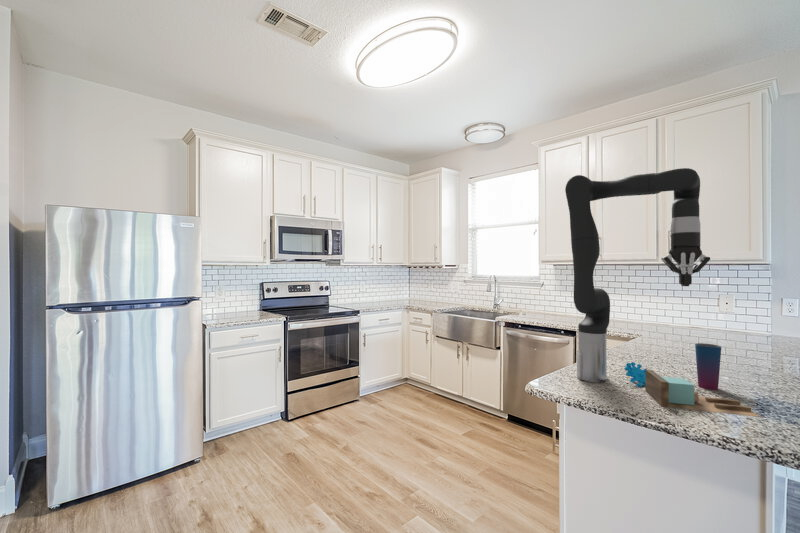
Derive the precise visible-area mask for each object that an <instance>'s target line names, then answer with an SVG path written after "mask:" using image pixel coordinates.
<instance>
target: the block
mask: <svg viewBox="0 0 800 533" xmlns="http://www.w3.org/2000/svg"><path fill="white" fill-rule="evenodd" d="M661 377H662V378H663V379H665V380H666V381H667V382H669V403H677V404H686V405H694V392H695V384H694V383H692V382H691V381H689V380H687V379H685V378H681V377H671V376H661Z"/></svg>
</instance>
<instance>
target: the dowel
mask: <svg viewBox="0 0 800 533" xmlns="http://www.w3.org/2000/svg"><path fill="white" fill-rule="evenodd" d="M698 401H699V393H698V392H697V391H694V402H698Z"/></svg>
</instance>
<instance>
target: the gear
mask: <svg viewBox="0 0 800 533" xmlns="http://www.w3.org/2000/svg"><path fill="white" fill-rule="evenodd" d="M642 367H643V366H642V364H640V363H638V364H636V362H634V361H631V362H628V363H626V364H625V367H624V370H625V371H627V372H626V373H625V374H626V377H631V378H630V379H629V382H631V383H634V382H637V384H636V386H637V387H639V388H641V387H644V388H645V370H648V369H647V368H643V369H641V368H642Z"/></svg>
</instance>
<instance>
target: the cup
mask: <svg viewBox="0 0 800 533" xmlns="http://www.w3.org/2000/svg"><path fill="white" fill-rule="evenodd" d="M694 347H695V348H694V349H695V350H694V351H695V358H696V359H695V360H696V373H697V374H696V375H697V386H698V387H699V389H700V388H701V389H703V390H709V391H718V390H719V383H720V381H719V380H720V368H721V359H722V358H721V356H722V346H721V345H717V344H711V343H706V342H705V343H702V342H701V343H700V342H698V343H697V342H695V344H694Z"/></svg>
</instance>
